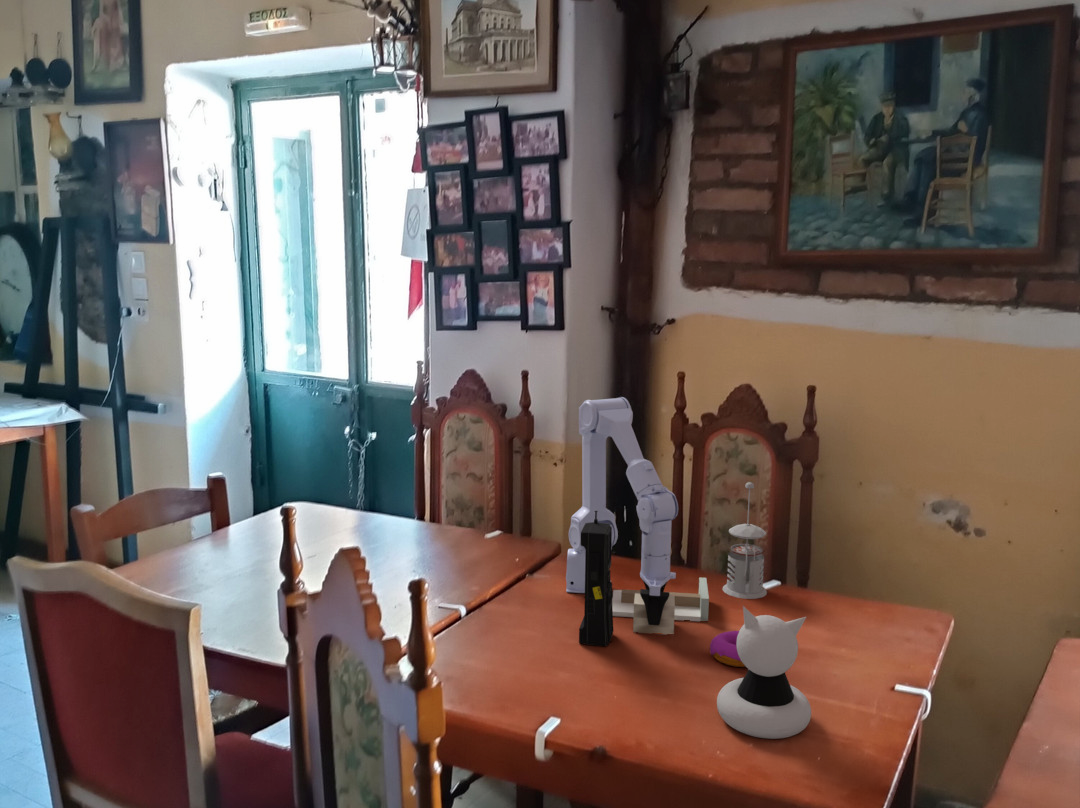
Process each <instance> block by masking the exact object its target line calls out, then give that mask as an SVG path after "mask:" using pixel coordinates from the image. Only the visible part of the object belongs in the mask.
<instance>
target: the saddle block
mask: <svg viewBox="0 0 1080 808" xmlns="http://www.w3.org/2000/svg"><path fill="white" fill-rule="evenodd" d="M674 614H675V596H672V595H669V598H668V600H667V601H666V603H665V605H664V608H663V612H662V616H661V621H660V624H659V625H649V624H648V620H647V613H646V608H645V604H644V601H643V599H642V598H641V595H640V594H638V593H635V598H634V617H633V622H632V623H633V624H632V625H633V626H632V627H633V628H632V629H633V630H632V631H633V633H636V632H638V633H639V634H652V633H662V634H661V635H667V634H674V635H675V620H674ZM638 633H637V634H638Z"/></svg>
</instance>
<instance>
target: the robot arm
mask: <svg viewBox="0 0 1080 808" xmlns="http://www.w3.org/2000/svg"><path fill="white" fill-rule="evenodd" d="M633 413H634V412H633V410H632V406H631V405H630V402H629V400H628V399H627V398H626V397H623V396H619V397H616V398H615V397H614V398H605V399H592V400H591V399H586V400H584V401H583V402H582V404H581V405H580V406H579V407H578V434H579V435H581V436H582V437H581V438H582V439H581V440H582V441H581V443H582V444H581V447H582V448H581V451H582V452H581V453H582V454H581V455H582V456H581V459H582V461H581V462H582V463H581V464H582V465H581V467H582V468H581V470H582V473H581V474H582V476H581V477H582V479H581V480H582V482H581V483H582V486H581V487H582V496H581V497H582V506H581V507H580V508H579V509H578V510H577V511H576V512H575V513H574V514H572V516H571V517H570V527H569V529H568V540H569V543H570V546H571V547H572V548H568V549H567V557H566V574H565V581H566V590H565V592H566V593H576V594H585V552H586V549H585V548H584V547H583V546H581V531H582V529H583V527H584V525H585V523H590V522H594V519H595V512H594V511H598V512H597V519H598V523H609V524H610V526H611V527H612V547H611V551H612V550H613V546H614V545H615V544H616V543H617V540H618V538H619V537H618V536H619V535H618V533H619V531H618V528H617V527H618V526H617V524H616V516H615V514H614V513H613V512H612V511H611V510H610V509H608V508H607V507H606V506H607V505H606V504H607V499H606V498H607V489H606V488H607V483H606V482H607V477H606V476H607V463H606V462H607V438H608V437H609V438H612V440H613V442H614V444H615V445H616V447H617V449H618V451H619V452H620V454H621V456H622V458H623V460H624V461H625V463H626V464H627V468H626V472H625V475H626V477H627V480H628V482H629V483H630V484H629V485H630V486H631V488H632V490H633V491H632V492H633V493H634V495H635V497H636V499H637V505H635V506H636V513H637V517H638V519H639V527H640V528H639V529H640V530H641V555H640V556H641V558H640V559H641V561H640V563H641V564H640V565H641V566H640V572H639V576H640V578H641V579H642V582H643V585H644V588H640V595H641V598H642V599H643V601H644V604H645V608H646V613H647V620H648V624H649V625H659V624H660V621H661V616H662V612H663V608H664V605H665V603H666V601H667V600H668V598H669V592H670V591H665V588H666V586H667V584H668V582H669V581H670V580H675V579H676V577H677V576H676V574H677V573H676V572H675V571H673V572H672V571H671V545H672V521H673V520H675V519H676V517H677V516H678V514H679V504H678V503H679V502H678V500H677V497H676V495H675V494H674V492H673V491H671V490H669V489H668V487H666V486H664V485H663V483H662V481H661V479H660V477H659V475H658V473H657V470H656V468H655V467H654V464H653V462H652V461H650V460H648V459H645V458H644V456H643V452H642V450H641V448H640V445H639V442H638V440H637V437H636V434H635V432H634V429H633V427H632V423H633V418H634V417H633V416H634V414H633ZM610 582H612V580H611V579H610Z"/></svg>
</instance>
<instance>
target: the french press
mask: <svg viewBox="0 0 1080 808" xmlns="http://www.w3.org/2000/svg"><path fill="white" fill-rule="evenodd" d="M745 489H748V502H747V503H748V505H747V508H748V509H747V521H746V522H747V523H742V524H736V525H734V526H733V527H731V528H729V530H728V533H729V534H730V535H731V536H733V537H735V538H738V539H744V540H746V543H737V544H733V545H731V546H730V548H729V549H730V552H728V554H727V555H728V556H727V557H728V558H727V560H728V562H727V566H728V567H729V568H727V572H728V573H727V576H726V577H727V578H729V579H726V584H724V585H723V586H722V591H723V592H724V594H727V595H728V596H731V597H734V598H738V599H748V600H753V599H754V600H755V599H761V598H764V597H766V595H767V594H768V590H766V589H765V588H764V587H763V586H764V568H765V566H764V565H765V564H764V563H765V556H764V554H763V553H764V549H763V548H762V547H760V546H758V545H755V544H754V543H753V544H749V541H748V540H759V539H762V538H763V537H765V536H766V535H767V532H766V531H765V530H764V529H763V528H762V527H759V526H758V525H754V524H751V523H749V519H750V504H751V503H750V502H751V500H750V499H751V489H755V484H754V483H753V482H750V481H748V482H746V483H745ZM729 562H730V563H729ZM733 577H734V578H733Z"/></svg>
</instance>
